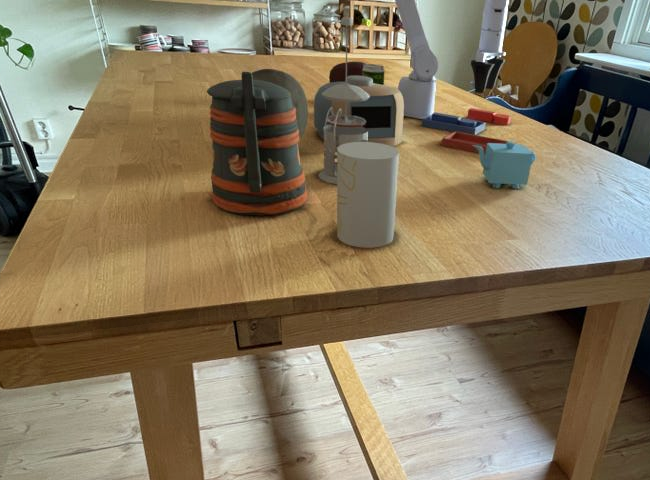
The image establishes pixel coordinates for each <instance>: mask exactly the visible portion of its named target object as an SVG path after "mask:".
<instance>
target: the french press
mask: <svg viewBox="0 0 650 480" xmlns="http://www.w3.org/2000/svg"><path fill="white" fill-rule="evenodd" d="M340 25H341V26H345V62H346V83H343V84H339V85H334V86H332V87H330V88H328V89H327V90H325V91H324V92H323V93H322V95H323V97H324V98H325V99H328V100H332V101H338V102H345V115H342V109H341V108H340V109H339V110H338V112H337V115H334V114H333V108H332V107H330V109H329V110H328V112H327V116H326V119H325V120H326V121H325V127H324V139H323V169H322V170H321V171H320V172H319V173H318V178H319V179H320V180H322V181H324V182H327V183H330V184H334V185H337V161H336V160H337V154H335V153H337V148H338V147H337V146H336V145H338V144H339V146H340V145H342V144H346V143H351V142H362V141H363V140H364V141H366V142H368V130H367V129H366V128H364V127H361V126H363V125H365V123H366V120H365V119H363V118H361V117H356V116H355V117H354V116H349V115H348V116H347V102H361V101H366V100H367V99H368V98H369V97H370V96H369V94H367V93H366V92H365V91H364V90H362V89H361V88H359V87H357V86H354V85H349V84H348V83H347V62H348V26H353V25H354V22H353V19H352V18H351V17H350V16H343V17H342V18H341V19H340ZM330 110H331V113H332V115H331V116H328V114H329V111H330ZM339 112H340V115H338V113H339ZM326 123H328V124H330V125H327V126H326ZM335 137H339V141H336V140H335Z"/></svg>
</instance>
